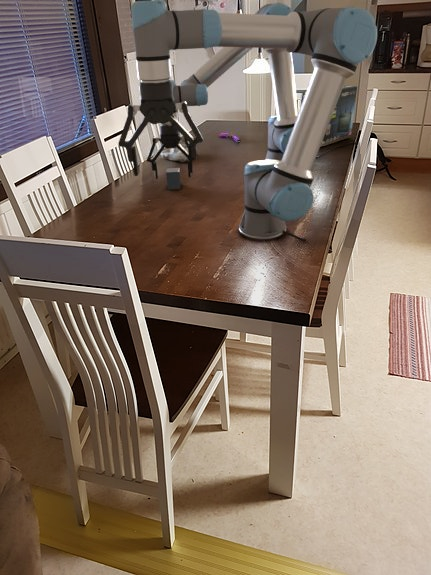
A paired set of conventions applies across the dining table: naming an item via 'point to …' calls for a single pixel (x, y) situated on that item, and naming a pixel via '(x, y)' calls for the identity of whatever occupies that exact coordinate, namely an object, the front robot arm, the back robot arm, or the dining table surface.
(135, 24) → the front robot arm
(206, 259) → the dining table surface
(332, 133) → the router box
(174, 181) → the brick
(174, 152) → the fossil
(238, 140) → the handgun
